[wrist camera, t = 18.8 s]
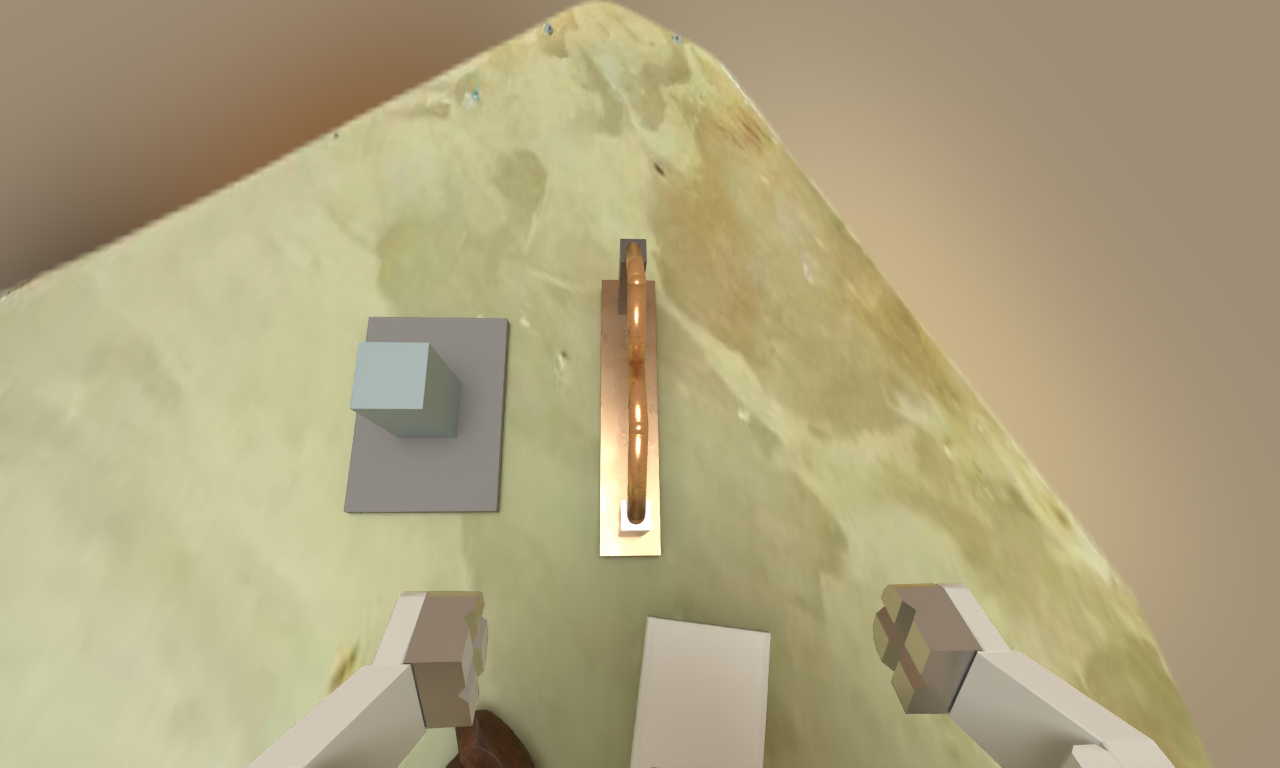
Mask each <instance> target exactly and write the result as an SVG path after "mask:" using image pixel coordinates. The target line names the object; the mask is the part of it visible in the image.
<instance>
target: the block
mask: <svg viewBox="0 0 1280 768" xmlns="http://www.w3.org/2000/svg"><path fill="white" fill-rule="evenodd" d="M460 389H461V382H460V381H459V379H458V378H457V377H456V376H455V374H454V373H453V372H452V371H451V369H450V368H449V367H448V366H447V364H446V363H445V362H444V361H443V359H442V358H441V357H440V356H439V354H438V353H437V352H436V351H435V349H434V348H433V347H432V346H431V344H430V343H411V342H359V346H358V354H357V361H356V368H355V376H354V383H353V390H352V398H351V405H350V409H351V410H353V411H355V412H356V413H358V414H360V415H361V416H363V417H365V418H366V419H368V420H370V421H371V422H373V423H375V424H376V425H378V426H380V427H381V428H383V429H385V430H386V431H388V432H390V433H391V434H393V435H394V436H396V437H405V438H457V426H458V414H459V401H460Z"/></svg>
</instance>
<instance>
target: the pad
mask: <svg viewBox="0 0 1280 768" xmlns="http://www.w3.org/2000/svg"><path fill="white" fill-rule="evenodd" d="M508 337H509V322H508V319H507V318H423V317H369V321H368V329H367V336H366V342H411V343H430V344H431V346H432V347H433V348H434V349H435V351H436V352H437V353H438V354H439V356H440V357H441V358H442V359H443V361H444V362H445V363H446V364H447V366H448V367H449V368H450V369H451V371H452V372H453V373H454V374H455V376H456V377H457V378H458V379H459V381H460V382H461V389H460V401H459V414H458V426H457V438H405V437H396V436H394V435H393V434H391V433H390V432H388V431H386V430H385V429H383V428H381V427H380V426H378V425H376V424H375V423H373V422H371V421H370V420H368V419H366V418H365V417H363V416H361V415H360V414H358V413H356V421H355V429H354V436H353V444H352V452H351V460H350V467H349V475H348V483H347V490H346V498H345V506H344V512H346V513H439V512H499V499H500V481H501V463H502V445H503V427H504V409H505V391H506V373H507V355H508Z"/></svg>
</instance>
